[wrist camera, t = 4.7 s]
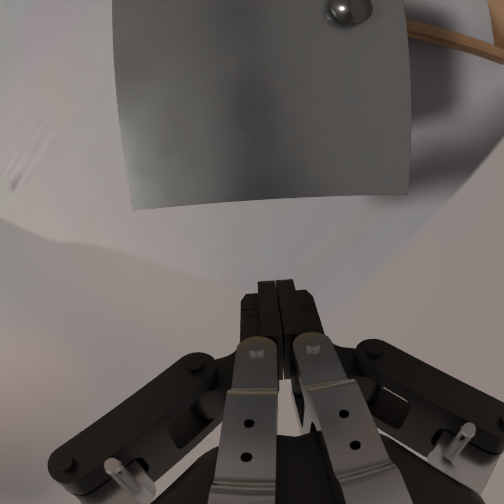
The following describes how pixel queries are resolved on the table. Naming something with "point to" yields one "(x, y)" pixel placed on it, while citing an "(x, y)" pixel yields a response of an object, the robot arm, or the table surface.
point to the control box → (262, 99)
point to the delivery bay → (500, 6)
